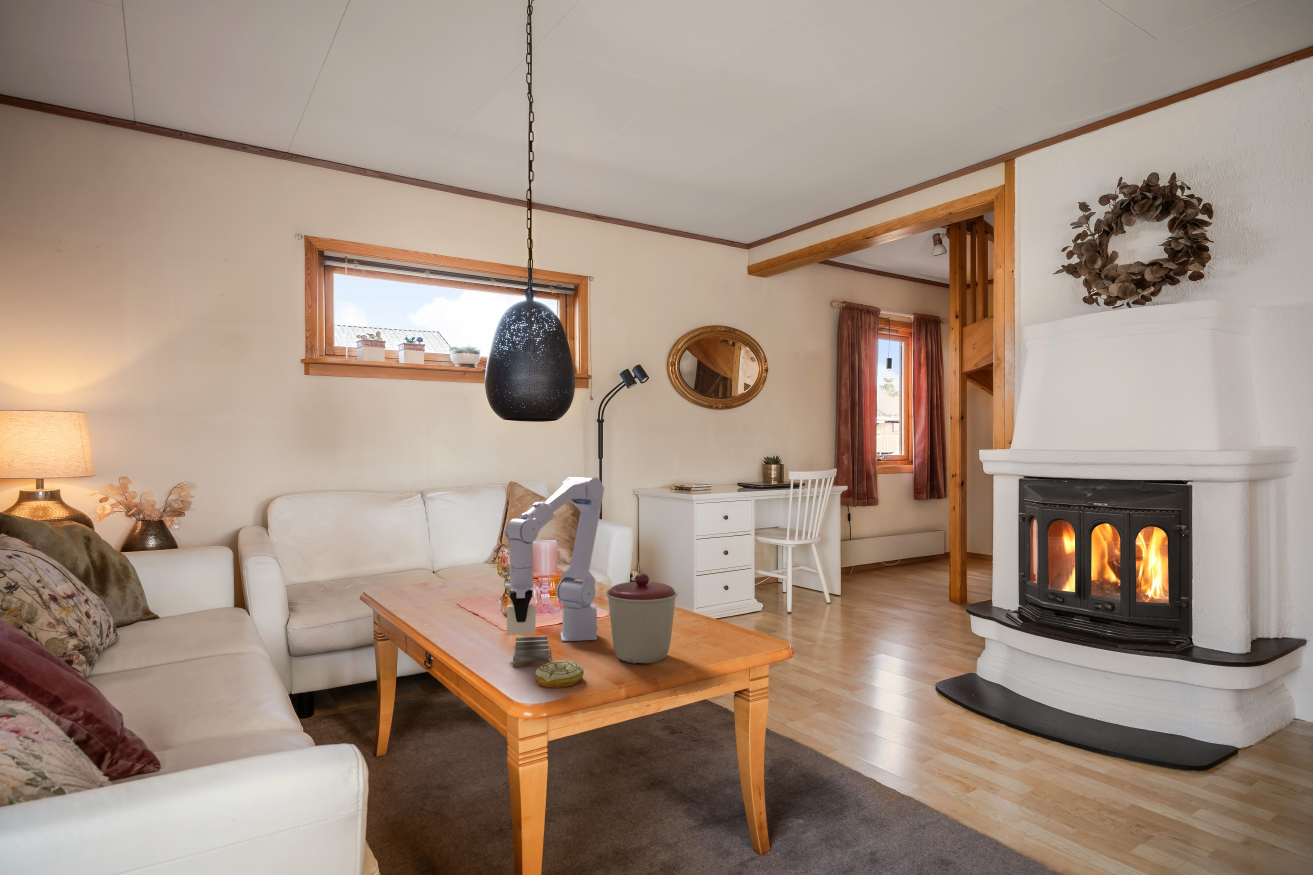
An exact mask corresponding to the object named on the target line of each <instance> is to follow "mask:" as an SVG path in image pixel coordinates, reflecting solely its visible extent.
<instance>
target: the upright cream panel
mask: <svg viewBox="0 0 1313 875" xmlns="http://www.w3.org/2000/svg"><path fill="white" fill-rule="evenodd" d="M536 606H537V605H536V604H529V606H528V611H527V617H526V621H525V622H517V621H516V616H515V610H514V606H513V604H511V605H507V606H506V635H507V636H513V635H514V636H516V635H517V636H518V635H519V636H520V635H522V636H523V635H536V619H537V618H536V612H537V611H536Z"/></svg>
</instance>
